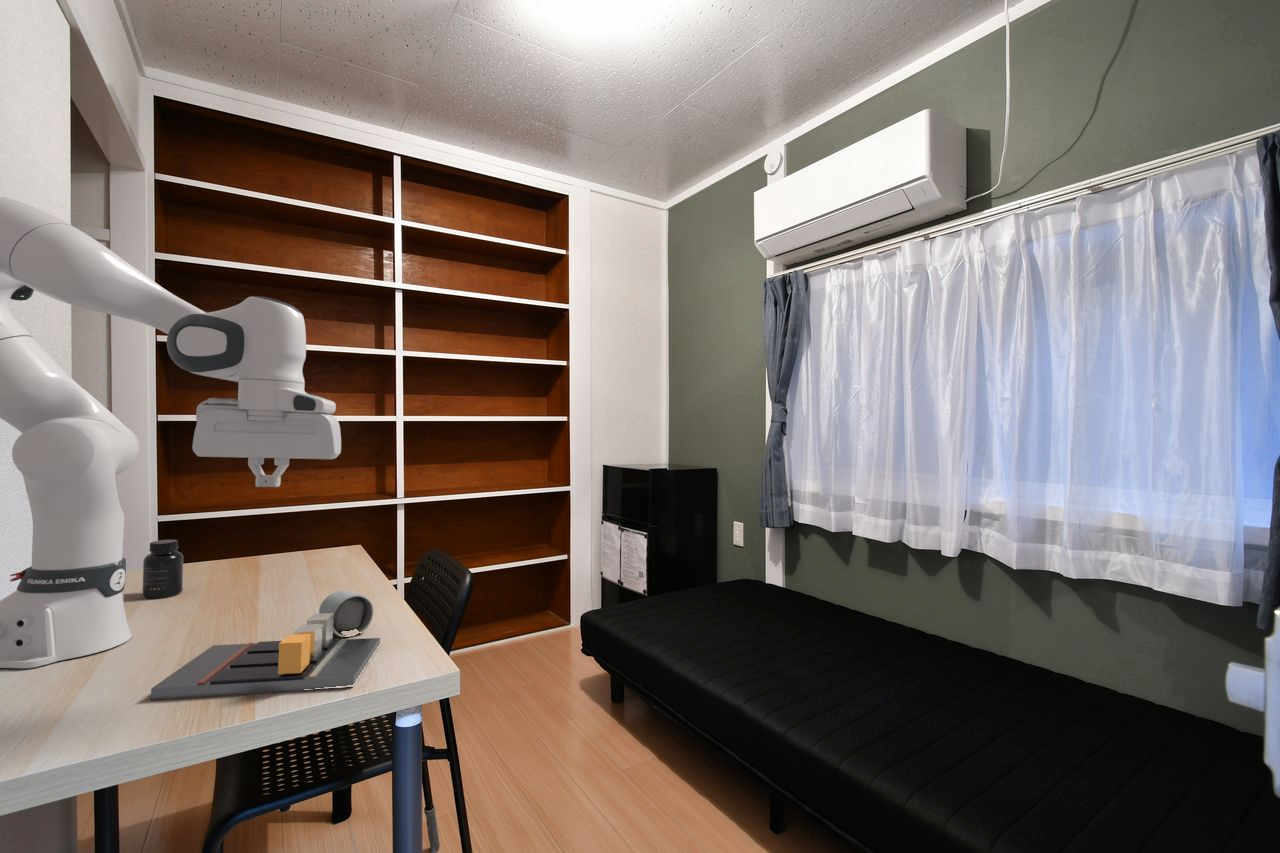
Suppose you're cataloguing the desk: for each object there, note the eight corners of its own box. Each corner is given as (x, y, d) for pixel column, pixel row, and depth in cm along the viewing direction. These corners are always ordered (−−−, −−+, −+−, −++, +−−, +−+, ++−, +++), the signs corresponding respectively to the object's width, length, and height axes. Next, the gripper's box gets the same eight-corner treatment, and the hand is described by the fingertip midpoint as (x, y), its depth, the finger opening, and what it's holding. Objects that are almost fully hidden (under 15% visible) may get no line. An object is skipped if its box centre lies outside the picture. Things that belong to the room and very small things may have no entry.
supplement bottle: (152, 591, 127) (154, 538, 127) (188, 590, 129) (190, 538, 129) (135, 600, 120) (137, 544, 120) (173, 598, 122) (175, 543, 122)
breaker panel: (150, 700, 77) (152, 653, 78) (212, 654, 93) (214, 615, 93) (353, 687, 83) (354, 643, 83) (379, 646, 99) (381, 610, 99)
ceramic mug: (355, 621, 111) (356, 583, 111) (373, 632, 106) (374, 591, 106) (296, 636, 103) (296, 594, 103) (312, 648, 98) (313, 604, 98)
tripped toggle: (277, 674, 81) (279, 643, 82) (287, 664, 85) (288, 634, 85) (300, 673, 82) (301, 642, 82) (309, 663, 86) (310, 634, 86)
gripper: (185, 395, 84) (181, 487, 83) (334, 401, 88) (330, 489, 88) (208, 398, 90) (204, 484, 90) (346, 404, 94) (342, 485, 94)
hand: (267, 486), depth 89 cm, fingers closed
